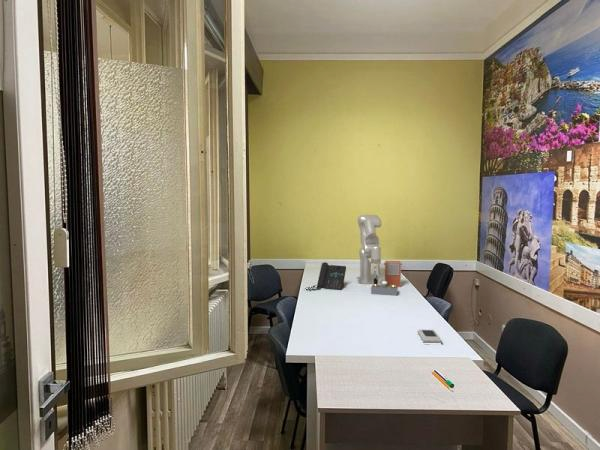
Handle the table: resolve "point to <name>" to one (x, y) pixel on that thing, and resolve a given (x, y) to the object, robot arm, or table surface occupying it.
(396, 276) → the control panel
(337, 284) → the office phone
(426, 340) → the keypad
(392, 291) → the mount
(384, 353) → the table surface
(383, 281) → the grey knob middle
